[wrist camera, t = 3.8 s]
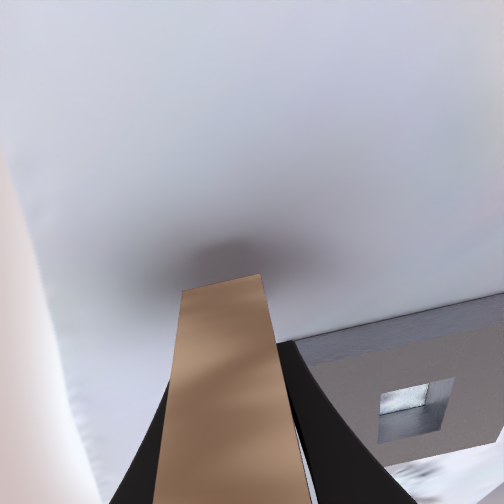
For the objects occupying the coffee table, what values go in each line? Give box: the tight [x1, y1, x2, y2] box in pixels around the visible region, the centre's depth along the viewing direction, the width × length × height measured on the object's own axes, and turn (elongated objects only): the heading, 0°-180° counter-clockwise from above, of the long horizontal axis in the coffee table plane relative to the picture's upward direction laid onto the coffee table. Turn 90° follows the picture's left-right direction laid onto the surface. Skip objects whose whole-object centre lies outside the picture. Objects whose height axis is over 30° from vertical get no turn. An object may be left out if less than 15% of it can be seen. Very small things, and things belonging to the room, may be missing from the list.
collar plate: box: [295, 293, 504, 467], centre depth 22 cm, size 16×16×2 cm
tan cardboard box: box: [153, 274, 312, 504], centre depth 10 cm, size 3×5×7 cm, turn 11°
